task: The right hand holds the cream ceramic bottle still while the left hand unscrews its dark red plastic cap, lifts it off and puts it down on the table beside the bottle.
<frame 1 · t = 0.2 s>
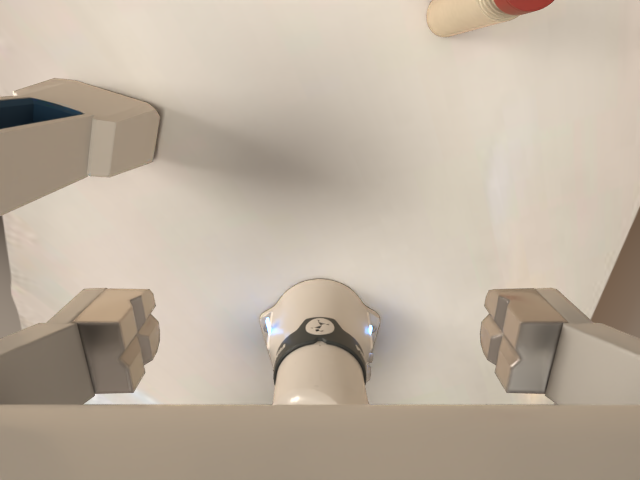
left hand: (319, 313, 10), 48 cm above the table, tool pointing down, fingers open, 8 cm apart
bottle: (447, 14, 50), on the table
electronic device: (113, 120, 55), on the table
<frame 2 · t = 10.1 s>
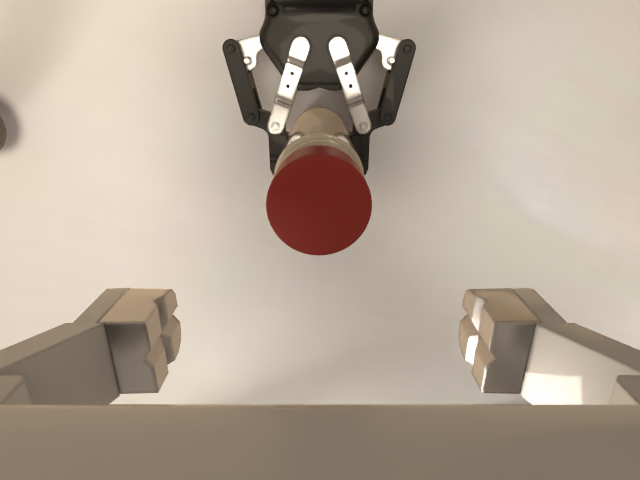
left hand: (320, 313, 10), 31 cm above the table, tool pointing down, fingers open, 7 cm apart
right hand: (319, 179, 34), fingers closed on bottle, 5 cm apart
cap: (319, 205, 19), point 22 cm above the table, screwed on, not yet turned
bottle: (319, 135, 39), on the table, touching right hand
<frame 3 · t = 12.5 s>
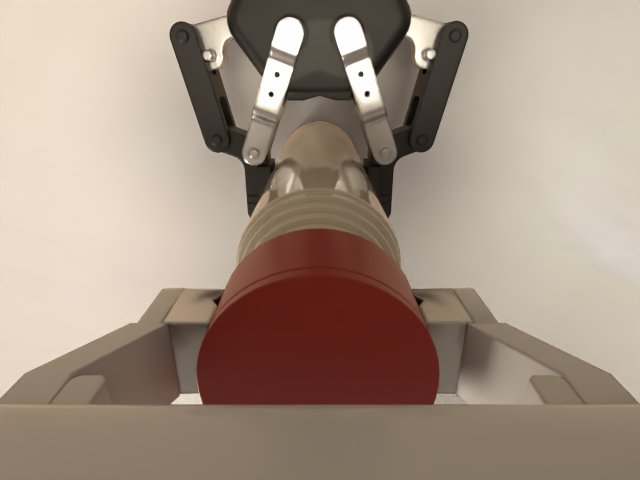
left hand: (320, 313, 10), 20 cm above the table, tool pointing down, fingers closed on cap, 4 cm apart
right hand: (320, 226, 24), fingers closed on bottle, 5 cm apart
cap: (318, 373, 8), point 22 cm above the table, screwed on, not yet turned, touching left hand
bottle: (319, 158, 29), on the table, touching right hand
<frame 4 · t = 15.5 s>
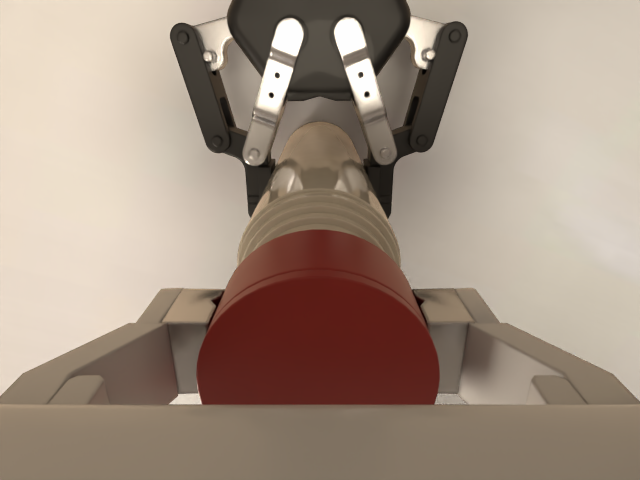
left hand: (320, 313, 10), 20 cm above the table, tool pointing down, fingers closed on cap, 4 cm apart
right hand: (320, 226, 24), fingers closed on bottle, 5 cm apart
cap: (318, 375, 8), point 22 cm above the table, turned 80° so far, risen 0.1 cm, still on its thread, touching left hand
bottle: (319, 158, 29), on the table, touching right hand
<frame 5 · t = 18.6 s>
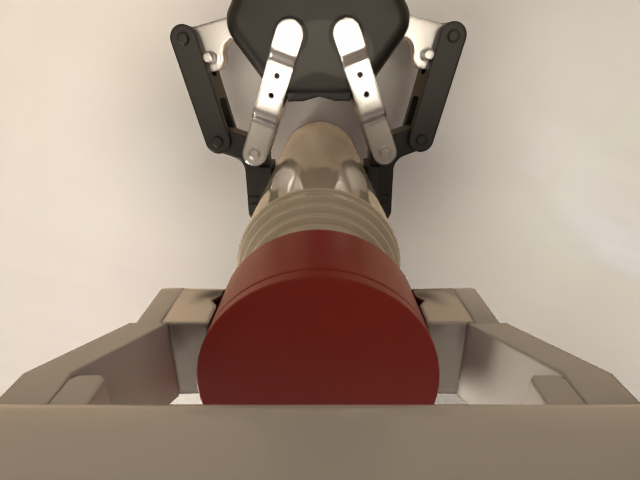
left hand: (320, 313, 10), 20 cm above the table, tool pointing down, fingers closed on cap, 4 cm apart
right hand: (320, 226, 24), fingers closed on bottle, 5 cm apart
cap: (318, 375, 8), point 22 cm above the table, turned 159° so far, risen 0.1 cm, still on its thread, touching left hand
bottle: (319, 158, 29), on the table, touching right hand
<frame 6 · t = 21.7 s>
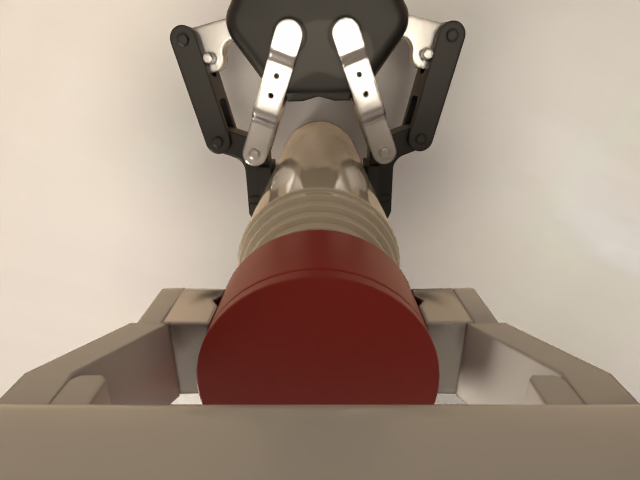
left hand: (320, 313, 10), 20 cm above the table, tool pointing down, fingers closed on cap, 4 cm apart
right hand: (320, 225, 24), fingers closed on bottle, 5 cm apart
cap: (318, 375, 8), point 22 cm above the table, turned 239° so far, risen 0.2 cm, still on its thread, touching left hand
bottle: (319, 158, 29), on the table, touching right hand
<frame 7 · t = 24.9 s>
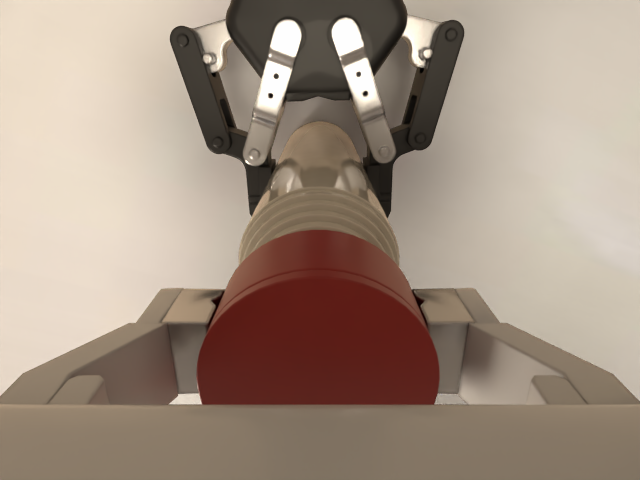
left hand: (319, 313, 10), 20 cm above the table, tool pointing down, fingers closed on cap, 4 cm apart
right hand: (321, 225, 24), fingers closed on bottle, 5 cm apart
cap: (318, 375, 8), point 22 cm above the table, turned 319° so far, risen 0.3 cm, still on its thread, touching left hand
bottle: (319, 158, 29), on the table, touching right hand
when the left hand's fingers open (2 cm above the table, at t = 34.4 s): cap drops 2 cm, point 2 cm above the table.
when the right hand's fingers open (6 cm above the table, at t = 35.5 s): bottle stays where it is, on the table.
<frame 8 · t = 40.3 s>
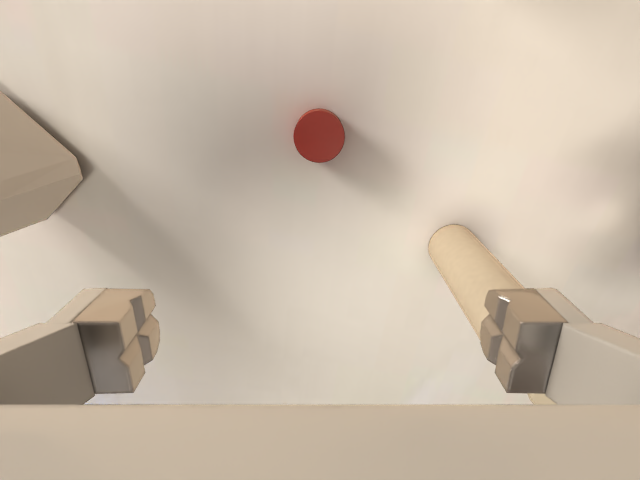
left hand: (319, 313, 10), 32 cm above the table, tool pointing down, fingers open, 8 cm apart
cap: (319, 136, 38), point 2 cm above the table, off its thread
bottle: (451, 246, 45), on the table
electronic device: (22, 146, 41), on the table
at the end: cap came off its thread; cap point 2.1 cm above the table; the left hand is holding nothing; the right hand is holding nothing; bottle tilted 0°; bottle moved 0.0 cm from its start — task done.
